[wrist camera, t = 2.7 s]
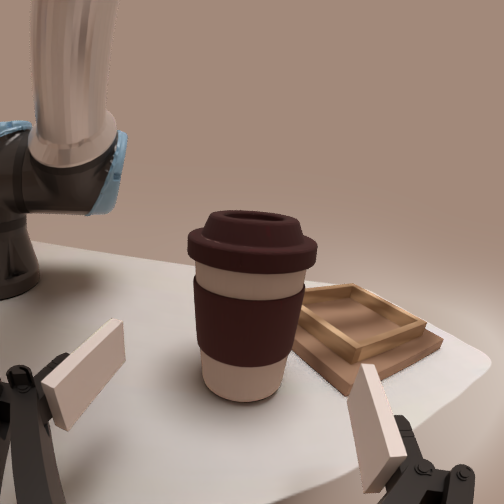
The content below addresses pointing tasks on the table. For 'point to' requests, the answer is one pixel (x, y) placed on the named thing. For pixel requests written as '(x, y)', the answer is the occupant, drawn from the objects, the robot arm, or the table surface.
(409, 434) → the robot arm
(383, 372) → the cup rack
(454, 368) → the table surface
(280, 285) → the coffee cup
